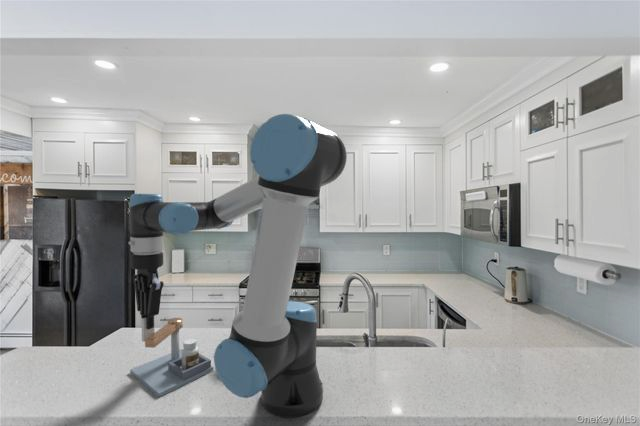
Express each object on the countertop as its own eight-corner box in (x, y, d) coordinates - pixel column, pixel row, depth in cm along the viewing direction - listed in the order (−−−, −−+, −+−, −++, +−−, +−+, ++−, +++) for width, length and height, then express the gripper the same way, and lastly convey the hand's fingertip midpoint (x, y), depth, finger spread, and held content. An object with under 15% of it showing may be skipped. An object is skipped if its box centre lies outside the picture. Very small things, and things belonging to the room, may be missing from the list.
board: (213, 370, 86) (213, 335, 86) (159, 397, 74) (158, 357, 74) (182, 351, 96) (181, 321, 96) (130, 372, 85) (129, 337, 84)
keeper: (172, 324, 92) (172, 317, 92) (185, 325, 92) (185, 318, 92) (142, 347, 78) (142, 338, 78) (157, 347, 78) (157, 339, 78)
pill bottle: (188, 374, 82) (188, 346, 82) (178, 369, 85) (178, 342, 84) (202, 366, 86) (201, 340, 86) (192, 362, 88) (192, 336, 88)
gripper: (121, 250, 81) (123, 336, 82) (142, 257, 73) (143, 352, 74) (151, 247, 87) (152, 327, 88) (173, 253, 79) (173, 341, 80)
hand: (148, 339), depth 81 cm, fingers closed
